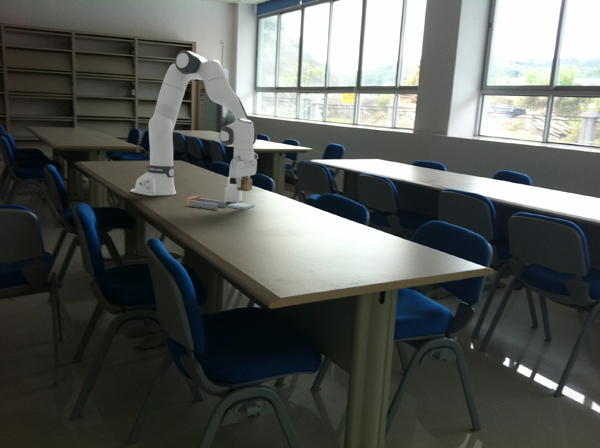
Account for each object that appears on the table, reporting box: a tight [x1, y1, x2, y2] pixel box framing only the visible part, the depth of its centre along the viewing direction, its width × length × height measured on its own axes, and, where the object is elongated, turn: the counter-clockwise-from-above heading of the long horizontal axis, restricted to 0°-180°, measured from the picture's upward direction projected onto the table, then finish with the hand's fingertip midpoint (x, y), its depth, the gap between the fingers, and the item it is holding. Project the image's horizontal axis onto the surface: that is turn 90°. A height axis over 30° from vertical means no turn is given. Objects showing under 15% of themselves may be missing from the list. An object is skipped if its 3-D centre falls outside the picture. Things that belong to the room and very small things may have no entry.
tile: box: [227, 202, 255, 210], centre depth 237 cm, size 9×9×1 cm
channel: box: [187, 195, 228, 211], centre depth 233 cm, size 15×8×4 cm, turn 68°
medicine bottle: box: [224, 176, 244, 203], centre depth 249 cm, size 7×7×12 cm
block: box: [237, 177, 253, 192], centre depth 235 cm, size 5×5×5 cm
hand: (242, 186), depth 235 cm, fingers closed on block, 5 cm apart
